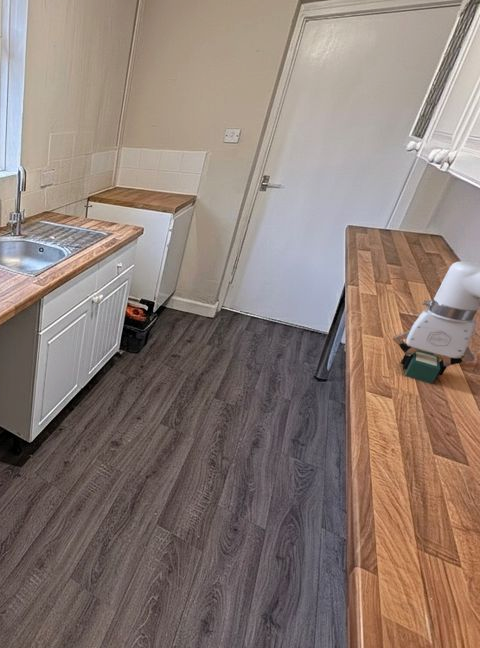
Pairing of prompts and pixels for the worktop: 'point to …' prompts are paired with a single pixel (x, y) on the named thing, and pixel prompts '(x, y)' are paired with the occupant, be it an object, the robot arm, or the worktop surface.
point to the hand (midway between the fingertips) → (419, 371)
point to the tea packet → (423, 367)
